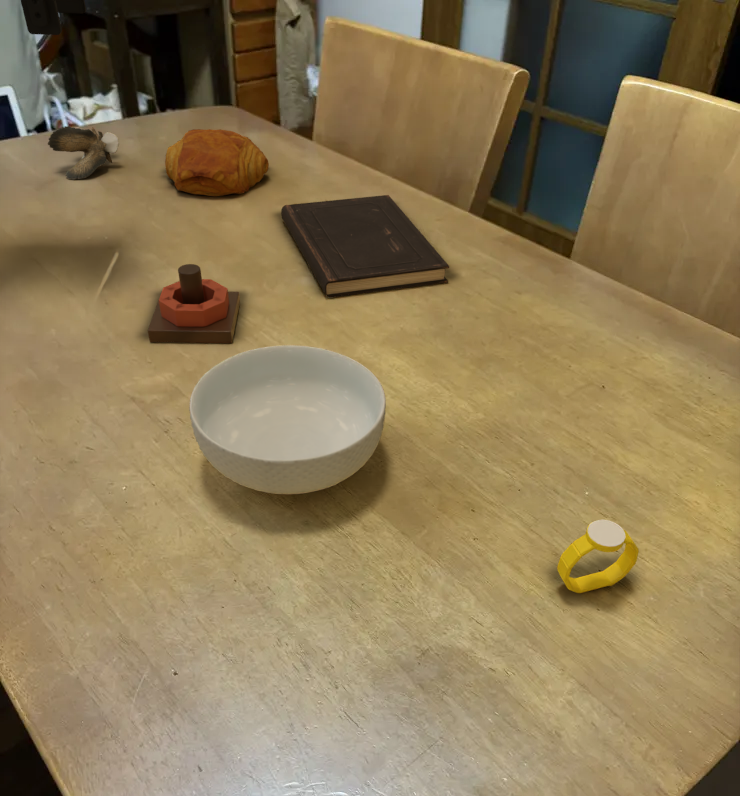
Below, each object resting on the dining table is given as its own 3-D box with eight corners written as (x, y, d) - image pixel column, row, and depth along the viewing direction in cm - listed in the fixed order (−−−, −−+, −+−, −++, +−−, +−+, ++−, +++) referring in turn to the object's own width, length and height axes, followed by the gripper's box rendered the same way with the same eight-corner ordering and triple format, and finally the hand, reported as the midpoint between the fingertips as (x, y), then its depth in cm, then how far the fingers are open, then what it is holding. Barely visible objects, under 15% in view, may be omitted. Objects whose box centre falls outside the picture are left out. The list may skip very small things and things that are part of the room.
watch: (615, 564, 61) (635, 512, 56) (632, 590, 59) (654, 538, 55) (547, 578, 59) (562, 525, 55) (562, 605, 57) (580, 552, 53)
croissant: (189, 174, 124) (176, 121, 119) (279, 170, 120) (269, 116, 115) (153, 205, 113) (137, 149, 108) (250, 202, 110) (238, 144, 105)
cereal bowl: (319, 551, 61) (318, 487, 56) (159, 480, 66) (145, 416, 61) (414, 438, 72) (420, 376, 67) (270, 385, 77) (265, 324, 72)
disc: (158, 326, 82) (155, 310, 81) (168, 294, 87) (166, 278, 86) (224, 327, 82) (222, 310, 81) (231, 295, 88) (229, 279, 86)
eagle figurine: (84, 147, 122) (40, 153, 115) (99, 111, 117) (54, 114, 111) (116, 182, 122) (74, 190, 115) (132, 148, 118) (89, 153, 111)
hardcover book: (387, 210, 110) (388, 194, 109) (447, 282, 95) (449, 265, 93) (281, 221, 106) (280, 205, 105) (325, 298, 91) (324, 281, 89)
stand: (149, 342, 82) (139, 288, 78) (163, 301, 89) (154, 249, 85) (232, 343, 83) (226, 289, 78) (240, 302, 89) (235, 250, 85)
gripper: (-1, -203, 73) (46, 4, 84) (-72, -202, 60) (-6, 42, 72) (78, -200, 73) (114, 6, 85) (23, -198, 60) (74, 44, 72)
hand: (59, 22), depth 78 cm, fingers open, 9 cm apart
